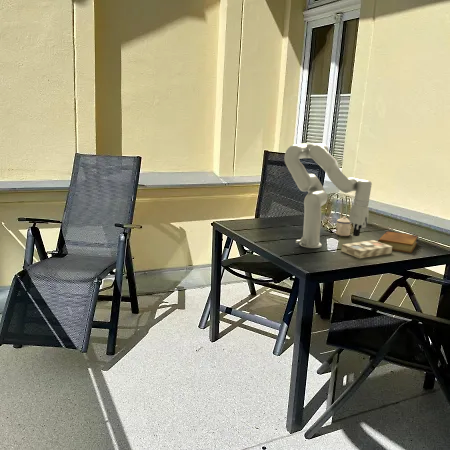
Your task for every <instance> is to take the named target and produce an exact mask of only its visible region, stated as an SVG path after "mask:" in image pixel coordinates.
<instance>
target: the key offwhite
mask: <svg viewBox="0 0 450 450" xmlns="http://www.w3.org/2000/svg"><path fill="white" fill-rule="evenodd" d="M361 245H362V246H365V247H373V246H374V244H372V243H369V242H364V243H361Z"/></svg>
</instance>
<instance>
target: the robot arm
mask: <svg viewBox="0 0 450 450" xmlns="http://www.w3.org/2000/svg"><path fill="white" fill-rule="evenodd" d="M283 158H284V159H283V160H284V164H285V166H286V168H287V169H288V172H289V173H290V175H291V178H292V179H293V181H294V182H295V184H296V186H297V188H298V189H299V190H300V191H301V192H308V193H307V194H306V195H305V197H304V200H303V206H304V212H303V214H304V215H303V216H304V217H303V230H302V237H300V239H296V240H295V244H299V246H301V247H303V248H307V249H319V248H322V243H321V242H320V237H321V235H320V234H321V224H322V206H324V205H326V203H327V202H328V200H329V199H328V193H327V191H326V190H325V188H324V186H323V184H322V183H321V181H320V179H319V178H318V176H316V175H315V174H314V173H309V172H308V171H307V169H306V167H305V165H304V164H303V163H302V162H301V161H300V160H302V159H312V160H313V161H314V162H315V163H316V164H317V165H318V166H319V167H320V168H321V169H322V170H323V171H324V172H325V174H326V176H327V177H328V178H329V180H330V181H331V183H332V184H333V185H334V186H335V187H336V188H337V189H338V190H339V191H341V192H342V193H345V194H348V193H351V192H355V194H354V199H353V203H352V205H351V207H350V211H349V214H348V215H349V216H348V220H349V221H350V223H351V225H352V229H353V233H352V236H354V237H360V234H361V230H362V229H364V228H367V225H368V222H369V215H370V212H369V211H370V208H369V203H370V198H371V197H370V196H371V190H372V185H373V184H372V181H370V180H367V179H359V178H356V177H354V176H353V177H352V176H351V177H347V176H346V175H345V173H343V172H342V171H341V169H340V167H339V163H338V160H337V159H336V158H335V157H334V156H333V155H332V154H331V153H330V150H329V147H328V146H327V145H326V144H325V143H297V144H292V145H290V146H289V147H288V148H287V149H286V150H285V154H284V157H283Z"/></svg>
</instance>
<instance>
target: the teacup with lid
mask: <svg viewBox="0 0 450 450" xmlns="http://www.w3.org/2000/svg"><path fill="white" fill-rule="evenodd" d="M346 217H347V216H342V217H341V218H338V219H337V220H336V227H335V229H336V230H335V234H336V235H337V236H340V237H341V236H342V237H348V236H350V234H351V227H352V226H351V225H352V224H351V223H350V221H349V218H346Z"/></svg>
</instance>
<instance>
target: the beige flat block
mask: <svg viewBox="0 0 450 450" xmlns="http://www.w3.org/2000/svg"><path fill="white" fill-rule="evenodd" d="M364 242H369V243H379V244H382V245H380V246H376V245H374V246H373V247H365V246H362V245H361V243H364ZM351 246H360V247H363V248H359V249H356V248H353V247H351ZM340 251H341V252H342V253H344V254H348V255H350V256H352V257H355V258H357V259H365V258H371V257H377V256H384V255H390V254H392V252H393V250H392V246H390V245H387V244H384V243H381V242H378V240H374V239H371V240H365V241H358V242H357V241H356V242H350V243H342V244H341V249H340Z"/></svg>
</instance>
